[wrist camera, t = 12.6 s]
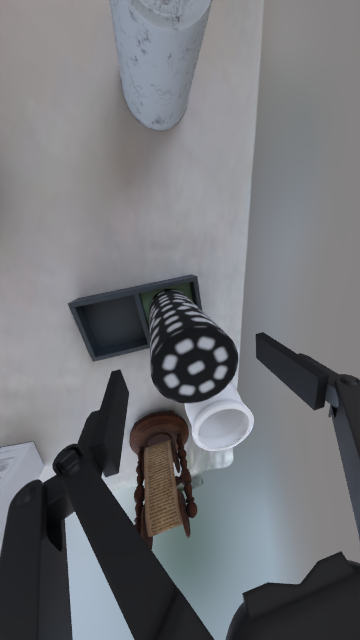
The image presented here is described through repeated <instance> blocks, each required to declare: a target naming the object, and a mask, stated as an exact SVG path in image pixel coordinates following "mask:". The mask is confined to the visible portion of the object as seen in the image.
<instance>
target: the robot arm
mask: <svg viewBox="0 0 360 640" xmlns="http://www.w3.org/2000/svg"><path fill="white" fill-rule="evenodd" d="M256 358H257V359H258V360H259V361H260V362H262V363H263V364H264V365H265V366H266V367H267V368H268V369H269V370H270V371H271V372H272V373H274V374H275V375H276V376H277V377H278V378H279V379H280V380H281V381H283V383H285V384H286V385H287V386H288V387H289V388H290V389H291V390H292V391H294V392H295V393H296V394H297V395H298V396H299V397H300V398H301V399H302V400H303V401H304V402H306V403H307V404H308V405H309V406H310V407H311V408H312V409H313V410H317V409H319V408H323V407H324V405H325V400H326V401H327V402H329V403H330V410H329V417H331V415H332V419H333V424H334V428H335V432H336V437H337V441H338V446H339V450H340V455H341V459H342V463H343V468H344V472H345V476H346V481H347V485H348V489H349V494H350V498H351V502H352V507H353V511H354V516H355V520H356V525H357V529H358V533H359V539H360V380H359V379H358V378H356V377H353V376H350V375H345V374H340V375H339V374H337V373H336V372H334V371H332V370H330V369H329V368H327V367H326V366H324V365H322V364H320V363H319V362H317V361H315V360H314V359H312V358H311V357H309V356H307V355H304V354H296V353H295V352H293V351H292V350H290V349H288V348H287V347H285V346H284V345H282V344H281V343H279V342H277V341H276V340H274V339H273V338H271V337H270V336H268V335H266V334H265V333H263V332H262V333H259V334H256ZM128 397H129V391H128V389H127V386H126V383H125V381H124V378H123V375H122V373H121V370H116V371H112V372H111V375H110V378H109V382H108V385H107V388H106V391H105V395H104V398H103V401H102V404H101V408H100V410H98V411H94V412H92V413H91V414H90V415H89V417H88V418H87V419H86V422H85V425H84V428H83V430H82V434H81V436H80V438H79V441H78V444H71V445H69V446H67V447H66V448H64V449H63V450H62V451H61V452H60V453H59V454H58V455H57V457H56V458H55V459H54V462H53V470H54V471H55V473H56V474H57V475H55V476H54V477H52V478H50V479H49V480H47V481H45V482H44V483H42V481H40V480H33V481H31V482H29V483H27V484H26V485H25V486H24V487H22V488H21V489H20V490H19V491H18V492H17V494H16V495H15V496H14V498H13V499H12V501H11V503H10V505H9V508H8V514H7V520H6V525H5V531H4V537H3V542H2V548H1V554H0V640H72V624H71V611H70V610H71V609H70V594H69V578H68V564H67V548H66V533H65V518H66V517H68V516H69V515H70V514H72V513H73V512H76V514H77V516H78V519H79V521H80V523H81V525H82V527H83V530H84V532H85V534H86V536H87V538H88V540H89V542H90V545H91V547H92V549H93V551H94V553H95V555H96V557H97V560H98V562H99V564H100V566H101V568H102V571H103V573H104V575H105V577H106V579H107V581H108V583H109V585H110V588H111V590H112V592H113V594H114V596H115V599H116V601H117V603H118V605H119V607H120V609H121V612H122V613H123V616H124V618H125V620H126V622H127V624H128V627H129V629H130V631H131V633H132V635H133V637H134V639H135V640H214V638H213V637H212V636H211V634H210V633H209V631H208V630H207V628H206V627H205V626H204V624H203V623H202V621H201V620H200V618H199V617H198V615H197V614H196V612H195V611H194V610H193V608H192V607H191V605H190V604H189V602H188V601H187V600H186V598H185V597H184V595H183V594H182V593H181V591H180V590H179V589H178V588H177V586H176V585H175V584H174V583H173V581H172V580H171V578H170V577H169V575H168V574H167V572H166V571H165V569H164V568H163V566H162V565H161V564H160V562H159V561H158V559H157V558H156V556H155V555H154V553H153V552H152V551H151V549H150V548H149V546H148V545H147V543H146V542H145V540H144V539H143V537H142V536H141V535H140V533H139V532H138V530H137V529H136V527H135V526H134V525H133V523H132V521H131V520H130V519H129V517H128V516H127V514H126V513H125V511H124V510H123V508H122V507H121V506H120V504H119V503H118V501H117V500H116V498H115V497H114V495H113V494H112V492H111V491H110V490H109V488H108V487H107V485H106V484H105V482H104V481H103V479H102V478H101V476H102V472H103V474H104V475H105V477H108V476H111V475H114V474H118V473H119V467H120V459H121V451H122V444H123V436H124V428H125V420H126V413H127V405H128ZM243 601H244V602H243V603H242V604H241V606H240V607H239V608H238V610H237V611H236V613H235V615H234V617H233V619H232V621H231V624H230V626H229V629H228V633H227V636H226V640H360V563H358V562H354V561H350V560H346V558H345V556H344V555H343V553H342V552H339V553H336V554H334V555H331V556H329V557H327V558H324V559H322V560H320V561H318V562H317V563H316V565H315V566H314V567H313V568H312V570H311V571H310V572H309V573H308V575H307V576H306V578H305V579H304V580H303V581H302V582H301V583H300V584H282V583H281V584H280V583H266V584H263V585H261V586H259V587H256V588H254V589H252V590H249V591H247V592H244V593H243Z"/></svg>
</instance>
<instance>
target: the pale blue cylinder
mask: <svg viewBox="0 0 360 640" xmlns="http://www.w3.org/2000/svg"><path fill="white" fill-rule="evenodd" d="M211 3H212V0H110V6H111V13H112V19H113V26H114V33H115V40H116V47H117V53H118V60H119V67H120V74H121V85H122V91H123V94H124V97H125V100H126V103H127V105H128V107H129V109H130V110H131V112H132V113H133V115H134V116H135V117H136V118H137V120H139V121H140V122H141V123H142V124H143V125H145V126H146V127H148V128H150V129H154V130H158V131H159V130H167V129H169V128H172V127H173V126H174V125H176V124H177V123H178V122H179V121H180V119H181V118H182V116H183V114H184V112H185V110H186V107H187V103H188V96H189V92H190V88H191V84H192V80H193V76H194V72H195V68H196V64H197V60H198V56H199V52H200V48H201V44H202V40H203V36H204V32H205V28H206V24H207V20H208V16H209V11H210V7H211Z"/></svg>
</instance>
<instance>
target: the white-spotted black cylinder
mask: <svg viewBox="0 0 360 640" xmlns="http://www.w3.org/2000/svg"><path fill="white" fill-rule="evenodd" d="M149 321H150V356H151V377H152V381H153V383H154V385H155V387H156V389H157V390H158V391H159V392H160V393H161V394H162V395H163V396H165V397H166V398H168V399H170V400H172V401H175V402H179V403H189V404H190V403H198V402H202V401H205V400H208V399H210V398H212V397H214V396H216V395H217V394H219V393H220V392H221V391H222V390H224V389H225V388H226V387H227V385H228V384H229V383H230V382H231V380H232V379H233V377H234V375H235V372H236V370H237V365H238V352H237V349H236V346H235V344H234V342H233V341H232V339H231V338H230V337H229V336H228V335H227V334H226V333H225V332H224V331H223V330H222V329H221V328H219V327H218V326H217V325H216V324H215V323H214V322H213V321H212V320H211V319H210V318H209V317H208V316H207V315H206V314H205V313H204V312H203V311H202V310H200V309H199V308H198V307H197V306H196V305H195V304H194V303H193V302H192V301H191V300H190V299H189V298H188V297H187V296H186V295H185V294H183V293H182V292H181V291H178V290H175V289H166V290H162V291H160V292H159V293H157V294H156V295H155V296H154V297H153V299H152V300H151V303H150V306H149Z"/></svg>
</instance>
